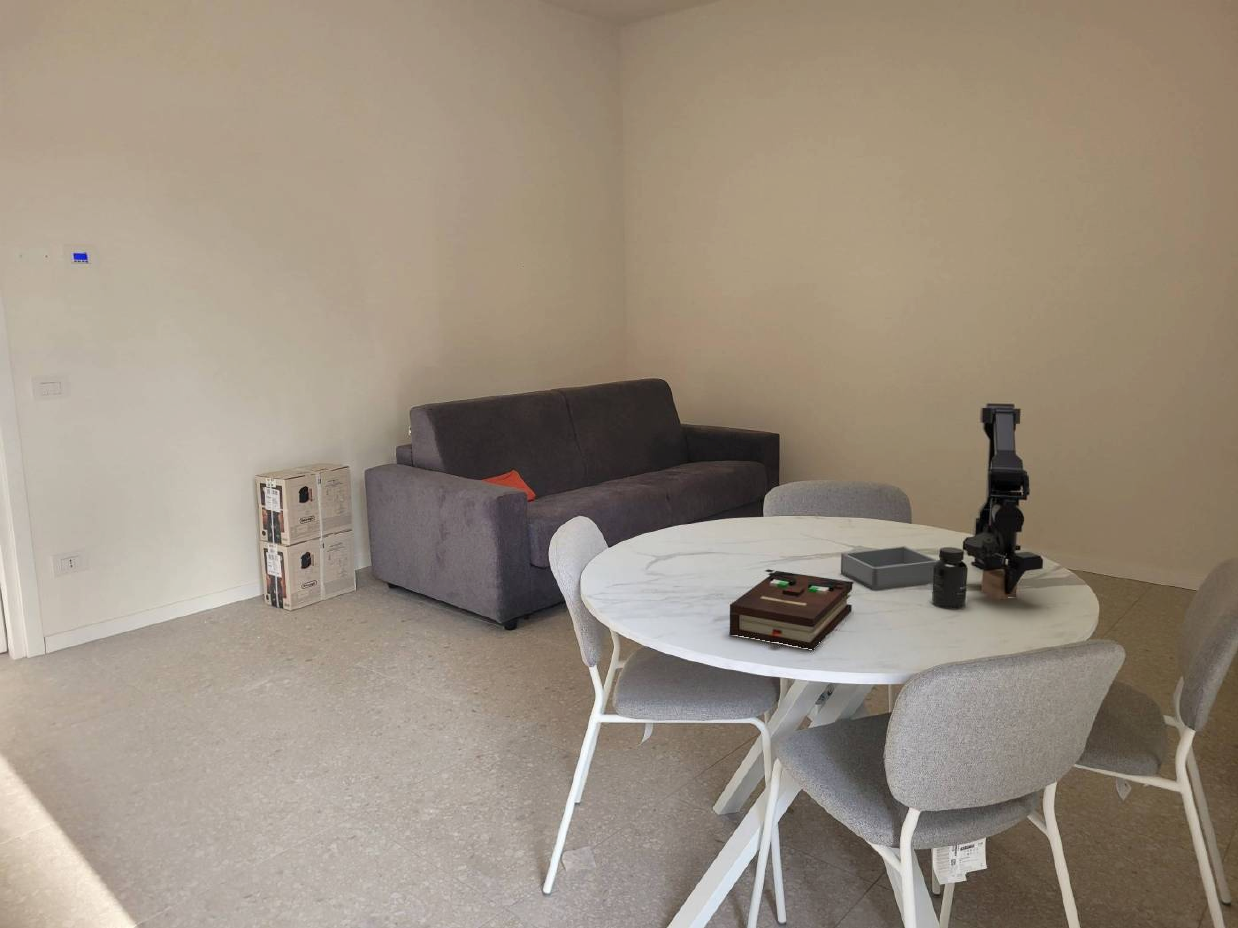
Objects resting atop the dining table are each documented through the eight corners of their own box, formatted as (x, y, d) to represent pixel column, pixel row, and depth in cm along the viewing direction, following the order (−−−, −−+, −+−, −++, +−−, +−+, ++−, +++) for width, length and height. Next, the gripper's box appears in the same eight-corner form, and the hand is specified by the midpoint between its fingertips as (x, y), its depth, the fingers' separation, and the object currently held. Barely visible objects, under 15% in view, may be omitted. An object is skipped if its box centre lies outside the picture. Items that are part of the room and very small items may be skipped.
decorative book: (719, 603, 176) (775, 563, 202) (718, 640, 178) (774, 596, 203) (815, 619, 167) (861, 575, 192) (814, 658, 168) (860, 610, 194)
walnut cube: (1000, 590, 204) (1001, 568, 203) (1016, 597, 199) (1017, 575, 198) (981, 592, 202) (982, 571, 201) (997, 599, 198) (998, 577, 197)
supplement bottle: (968, 610, 191) (971, 554, 189) (934, 608, 193) (936, 553, 191) (962, 599, 198) (965, 546, 196) (929, 597, 199) (932, 544, 197)
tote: (903, 565, 223) (904, 546, 222) (939, 581, 210) (940, 561, 209) (840, 573, 217) (841, 553, 217) (873, 590, 205) (874, 569, 204)
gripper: (944, 515, 204) (940, 582, 207) (1003, 535, 187) (999, 608, 189) (985, 510, 207) (981, 576, 210) (1047, 530, 190) (1042, 601, 193)
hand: (999, 590), depth 201 cm, fingers closed on walnut cube, 5 cm apart
